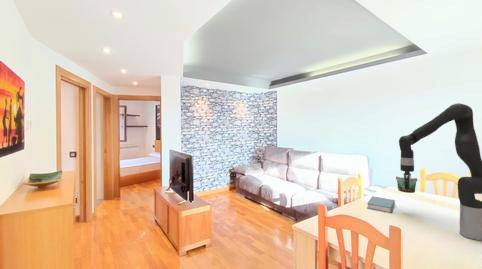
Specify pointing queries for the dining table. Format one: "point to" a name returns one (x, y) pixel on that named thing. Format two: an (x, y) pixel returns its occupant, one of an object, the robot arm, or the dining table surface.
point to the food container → (402, 185)
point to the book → (381, 204)
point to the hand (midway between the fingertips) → (407, 188)
